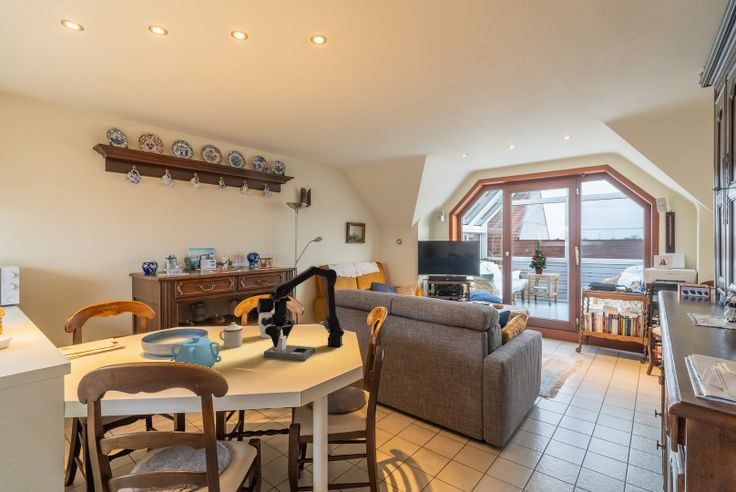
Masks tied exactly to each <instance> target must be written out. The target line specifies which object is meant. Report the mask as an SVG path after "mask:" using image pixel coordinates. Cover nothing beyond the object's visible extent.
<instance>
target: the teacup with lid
mask: <svg viewBox="0 0 736 492" xmlns="http://www.w3.org/2000/svg"><path fill="white" fill-rule="evenodd" d="M243 329H244V328H243V326H242V325H238V324H237V323H236V322H230V324H229V325H228V326H225V327H224V328H223V330H221V331H220V332H219V339H220V341H223V347H224V348H225V349H235V348H239V347H242V345H243ZM222 333H223V336H222Z"/></svg>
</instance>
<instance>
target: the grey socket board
mask: <svg viewBox="0 0 736 492" xmlns="http://www.w3.org/2000/svg"><path fill="white" fill-rule="evenodd" d="M315 353H316V347H315V346H302V345H294V344H293V345H291V344H286V349H285V350H284V351H278V350H274V345H272V346H271V347H270V348H268V349H266V350H264V351H263V358H266V359H267V358H268V359H275V360H276V359H279V360H288V361H289V360H290V361H299V362H306V361H308V359H310V358H311V357H312V356H313V355H314V354H315Z"/></svg>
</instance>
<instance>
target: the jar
mask: <svg viewBox="0 0 736 492" xmlns="http://www.w3.org/2000/svg"><path fill="white" fill-rule="evenodd" d="M272 314H274V309H273V311H271V312H266V313H258V329H259V332H260V338H262V339H270V338H271V337H270V336H269V335H267V334H265V328H266V327H268V326H270V325H271V324H270V325H266V326H265V327H264V325H262V324H261V321H262V318H265V317H267V318H269V317H272ZM272 326H275V325H272Z"/></svg>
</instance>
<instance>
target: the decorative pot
mask: <svg viewBox="0 0 736 492" xmlns="http://www.w3.org/2000/svg"><path fill="white" fill-rule="evenodd" d="M214 345H215V346H216V347H217V351H216V348H215V347H214ZM177 347H179V349H178V351H177V353H176V352H175V348H177ZM170 350H171V351H170V352H171V354H172V357H173V358H171V359H170V361H173V362H184V363H191V364H197V365H202V366H206V367H209V368H210V369H211V368H213V366H214V365H215V363H220V362H221V361H222V356H221V355H219V354H220V352H221V344H220V343H219V342H218V341H211V340H210V338H205V337H201V336H200V335H197V336H196V335H195V336H192V337H191V339H190V338H189V339H187V340H184V341H183V342H181V343H180V342H178V343H175V344H173V345H172V347H171V349H170ZM170 361H169V362H170Z"/></svg>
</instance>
